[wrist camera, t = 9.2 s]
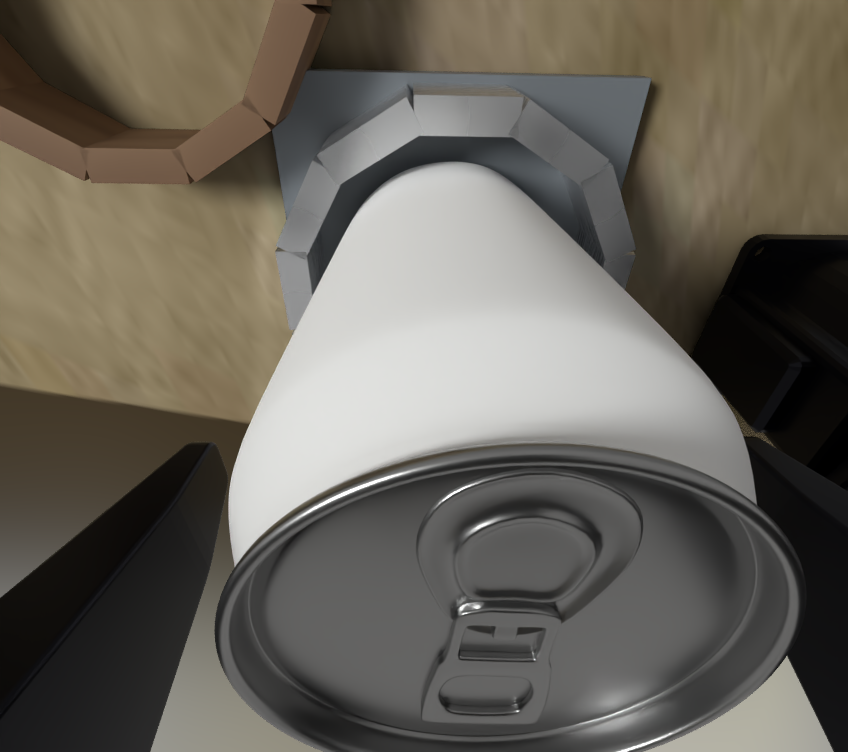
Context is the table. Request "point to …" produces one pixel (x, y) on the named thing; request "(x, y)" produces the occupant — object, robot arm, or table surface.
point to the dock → (454, 153)
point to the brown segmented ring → (159, 148)
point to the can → (493, 501)
